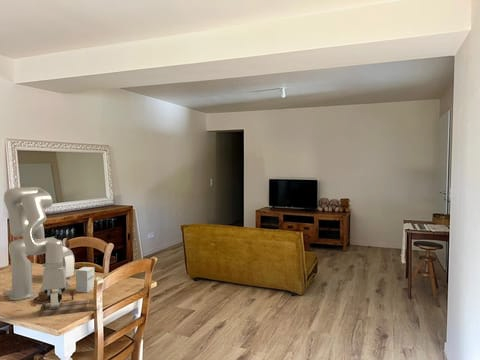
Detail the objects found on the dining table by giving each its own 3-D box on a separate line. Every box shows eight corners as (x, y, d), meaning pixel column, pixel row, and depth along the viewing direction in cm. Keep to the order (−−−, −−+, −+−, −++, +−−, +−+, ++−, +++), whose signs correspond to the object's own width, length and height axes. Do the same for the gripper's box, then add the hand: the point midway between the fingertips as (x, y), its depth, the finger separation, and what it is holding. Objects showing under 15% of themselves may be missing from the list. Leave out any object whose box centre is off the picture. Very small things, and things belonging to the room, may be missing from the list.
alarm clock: (76, 278, 222) (75, 247, 221) (63, 282, 215) (63, 250, 214) (59, 274, 231) (59, 244, 231) (47, 277, 224) (46, 246, 223)
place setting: (55, 293, 198) (55, 283, 198) (77, 300, 188) (77, 289, 188) (23, 304, 183) (23, 293, 183) (45, 312, 173) (45, 300, 172)
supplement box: (87, 292, 197) (86, 270, 197) (75, 291, 199) (75, 270, 198) (95, 288, 205) (94, 267, 204) (84, 287, 206) (83, 266, 206)
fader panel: (39, 316, 166) (39, 309, 166) (44, 308, 176) (43, 301, 175) (97, 309, 174) (97, 302, 174) (99, 302, 184) (99, 295, 183)
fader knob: (49, 309, 169) (48, 294, 168) (52, 304, 175) (51, 289, 175) (58, 308, 170) (58, 293, 170) (61, 303, 177) (60, 289, 176)
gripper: (33, 268, 166) (34, 306, 166) (71, 265, 171) (72, 302, 171) (37, 264, 173) (38, 301, 174) (73, 261, 178) (74, 297, 179)
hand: (55, 301), depth 173 cm, fingers closed on fader knob, 3 cm apart
